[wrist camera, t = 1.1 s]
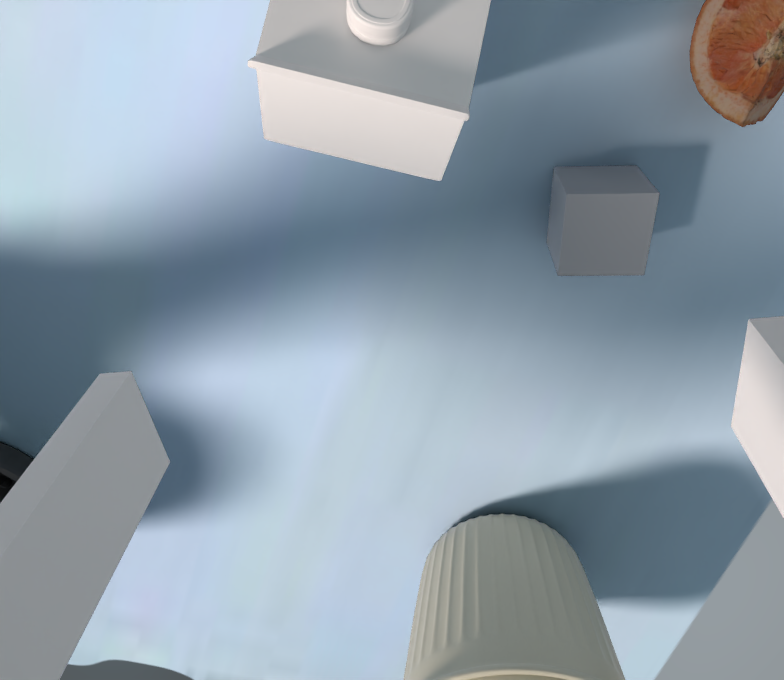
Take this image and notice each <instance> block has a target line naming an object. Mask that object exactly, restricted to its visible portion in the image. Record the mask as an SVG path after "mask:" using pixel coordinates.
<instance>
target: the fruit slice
mask: <svg viewBox="0 0 784 680" xmlns="http://www.w3.org/2000/svg"><path fill="white" fill-rule="evenodd" d="M690 68H691V73H692V77H693V81H694V82H695V84H696V87H697V89H698V91H699V93H700V94H701V96H702V97H703V98H704V99H705V101H706V102H707V103H708V104H709V105H710V106H711V107H712V108H713V109H714V110H715V111H716V112H717V113H719V114H721V115H722V116H723V117H724V118H725V119H727V120H730V121H732V122H734V123H736V124H738V125H739V126H741V127H745V126H746V125H750V124H752V125H753V124H756V122H757V121H762V120H764V118H765V117H766V116H767V114H768V113H769V112H770V111H771V110H772V108H773V107H774V105H775V104H776V102H777V101H778V99H779V98H780V96H781V95H782V93H783V92H784V0H706V1H705V3H704V4H703V6H702V8H701V11H700V13H699V15H698V17H697V20H696V23H695V27H694V31H693V35H692V40H691V47H690Z"/></svg>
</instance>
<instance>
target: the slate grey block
mask: <svg viewBox="0 0 784 680" xmlns="http://www.w3.org/2000/svg"><path fill="white" fill-rule="evenodd" d="M659 194H660V193H659V192H658V191H657V189H656V188H655V187H654V186H653V184H652V183H651V182H650V181H649V180H648V178H647V177H646V176H645V175H644V173H643V172H642V171H641V170H640V169H639V167H638V166H637V165H630V166H565V167H554V169H553V179H552V190H551V200H550V210H549V221H548V231H547V245H548V248H549V251H550V254H551V257H552V260H553V263H554V266H555V269H556V272H557V275H558V276H594V275H644V274H645V268H646V263H647V258H648V252H649V247H650V242H651V236H652V231H653V226H654V221H655V215H656V210H657V205H658V199H659Z"/></svg>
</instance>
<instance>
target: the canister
mask: <svg viewBox="0 0 784 680" xmlns="http://www.w3.org/2000/svg"><path fill="white" fill-rule="evenodd" d="M404 680H625V678H624V675H623V672H622V669H621V667H620V664H619V661H618V659H617V656H616V653H615V650H614V648H613V645H612V642H611V639H610V636H609V634H608V631H607V628H606V625H605V623H604V620H603V617H602V615H601V612H600V609H599V606H598V604H597V601H596V599H595V596H594V594H593V591H592V589H591V586H590V584H589V581H588V579H587V576H586V574H585V571H584V569H583V567H582V564H581V563H580V561H579V558H578V556H577V554H576V553H575V551H574V550H573V548H572V547H571V546H570V545H569V543H568V542H567V540H566V539H565V538H564V537H562V536H561V535H560V534H559V533H558V532H557V531H556V530H554V529H552V528H550V527H549V526H548V525H546V524H545V523H540V522H538V521H537V520H536V519H530V518H527V517H525V516H517V515H514V514H511V515H507V514H503V513H501V514H497V515H493V514H490V515H486V516H479V517H477V518H473V519H472V518H470V519H468V520H467V521H465V522H460V523H459V524H458V525H457V526H456V527H452V528H450V529H449V530H448V532H447V533H444V534H443V535H442V536H441V537H440V539H439V540H438V541H437V542H436V543H435V544H434V546H433V547H432V550H431V551H430V553H429V554H428V556H427V559H426V562H425V565H424V568H423V572H422V576H421V581H420V586H419V591H418V596H417V602H416V607H415V612H414V618H413V624H412V630H411V636H410V643H409V649H408V656H407V662H406V668H405V674H404Z"/></svg>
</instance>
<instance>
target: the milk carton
mask: <svg viewBox="0 0 784 680" xmlns="http://www.w3.org/2000/svg"><path fill="white" fill-rule="evenodd" d="M490 3H491V0H270V3H269V7H268V11H267V14H266V18H265V22H264V26H263V30H262V34H261V37H260V41H259V45H258V49H257V53H256V56H254V57H253V58H251V59H250V60H249V61H248V66H249V67H250V68H254V69H256V70H257V79H258V88H259V97H260V106H261V116H262V125H263V134H264V139H266V140H270V141H273V142H277V143H281V144H285V145H289V146H293V147H297V148H302V149H306V150H310V151H314V152H318V153H322V154H327V155H331V156H335V157H339V158H343V159H347V160H352V161H356V162H360V163H364V164H368V165H372V166H377V167H381V168H385V169H389V170H393V171H397V172H402V173H406V174H410V175H414V176H418V177H423V178H427V179H431V180H436V181H441V180H442V177H443V175H444V172H445V169H446V167H447V164H448V162H449V159H450V157H451V154H452V151H453V149H454V146H455V144H456V141H457V138H458V136H459V133H460V131H461V128H462V126H463V123H464V120H465V121H468V120H469V117H470V113H469V105H470V100H471V95H472V90H473V85H474V81H475V76H476V71H477V66H478V61H479V56H480V52H481V47H482V42H483V37H484V32H485V27H486V22H487V18H488V13H489V8H490Z"/></svg>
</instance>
